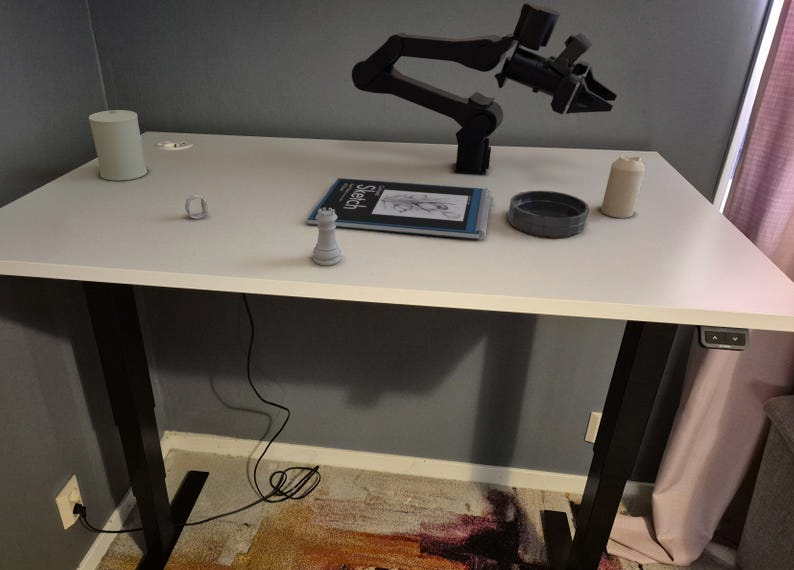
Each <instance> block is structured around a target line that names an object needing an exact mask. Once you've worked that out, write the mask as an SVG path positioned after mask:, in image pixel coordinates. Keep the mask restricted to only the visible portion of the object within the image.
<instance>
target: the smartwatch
mask: <svg viewBox="0 0 794 570" xmlns="http://www.w3.org/2000/svg"><path fill="white" fill-rule="evenodd" d="M196 199H200V205H201V213H198V214H197V215H195V214H192V212H191V203H192V201H194V200H196ZM184 208H185V212H186V213H187V215H188V216H189V217H190V218H192V219H195V220H199V219H200V220H201V219H202V218H204V217H205V216H206V215H207V214H208V213H209V210H208V209H209V208H208V201H207V200H206V199H205V198H204V197H202V196H201V195H198V194H192V195H189V196H188V197H187V198H186V199H185V204H184Z"/></svg>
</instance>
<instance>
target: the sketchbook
mask: <svg viewBox="0 0 794 570" xmlns="http://www.w3.org/2000/svg"><path fill="white" fill-rule="evenodd" d="M491 197H492V191H491V189H490V188H488V187H484V188H482V187H481V188H479V187H467V186H455V185H441V184H440V185H439V184H428V183H427V184H426V183H413V182H399V181H386V180H385V181H384V180H371V179H357V178H346V177H345V178H344V177H337V179H336V180H335V182H333V184H332V186H331V187H330V188H329V189H328V191H327V192H326V193H325V195H324V197H323V198H322V199H321V201H320V202H319V203H318V204H317V205H316V207H315V208H314V210H313V211H312V212H311V213H310V215H309V216H308V218H307V225H311V226H318V224H319V222H318V220H317V219H316V215H317V214H318V210H319V209H321V210H322V211H323V208H326V211H329V208H332V210H333V209H334V210H335V214H336V215H337V219H336V220H335V222H334V224H335V225H336V228H344V229H354V230H355V229H357V230H366V231H379V232H388V233H389V232H390V233H401V234H412V235H424V236H435V237H445V238H447V237H448V238H456V239H457V238H458V239H468V240H478V241H481V240H483V239H485V237H486V233H487V225H488V219H489V218H488V217H489V211H490V204H491Z"/></svg>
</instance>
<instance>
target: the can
mask: <svg viewBox="0 0 794 570" xmlns="http://www.w3.org/2000/svg"><path fill="white" fill-rule="evenodd" d="M88 121H89V124H90V128H91V133H92V137H93V142H94V146H95V151H96V156H97V161H98V165H99V170H100V171H99V173H100V177H101V178H102V179H104V180H106V181H113V182H115V181H116V182H117V181H118V182H121V181H122V182H123V181H131V180H136V179H139V178H141V177H144V176H145V175H147V173H148V168H147V164H146V161H145V156H144V155H145V154H144V150H143V144H142V138H141V131H140V125H139V120H138V113H137V112H135V111H132V110H126V109H113V110H112V109H111V110H103V111H99V112H95V113H92V114H90V115H89V116H88Z"/></svg>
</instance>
